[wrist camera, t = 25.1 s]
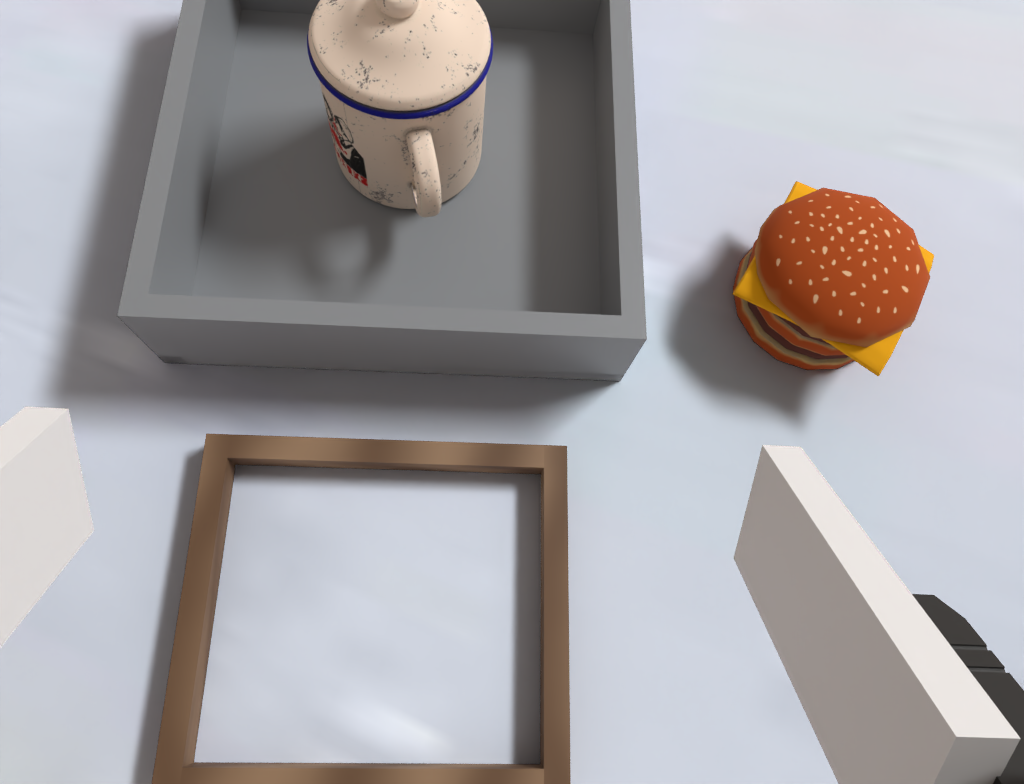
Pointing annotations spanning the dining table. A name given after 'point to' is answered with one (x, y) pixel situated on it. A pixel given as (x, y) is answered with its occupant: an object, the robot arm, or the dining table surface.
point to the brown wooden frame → (174, 764)
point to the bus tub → (393, 210)
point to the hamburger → (831, 280)
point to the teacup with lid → (403, 94)
